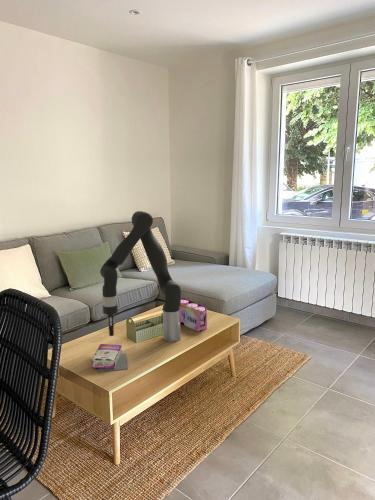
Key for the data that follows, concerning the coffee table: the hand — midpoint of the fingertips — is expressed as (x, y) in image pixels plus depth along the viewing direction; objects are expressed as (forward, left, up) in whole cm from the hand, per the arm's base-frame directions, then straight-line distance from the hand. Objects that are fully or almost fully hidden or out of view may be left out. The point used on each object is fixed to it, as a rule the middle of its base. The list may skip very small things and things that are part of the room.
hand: (111, 335), depth 202 cm
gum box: (-48, -27, -9) cm, 56 cm away
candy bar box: (0, +2, -6) cm, 7 cm away
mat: (0, +12, -9) cm, 15 cm away
